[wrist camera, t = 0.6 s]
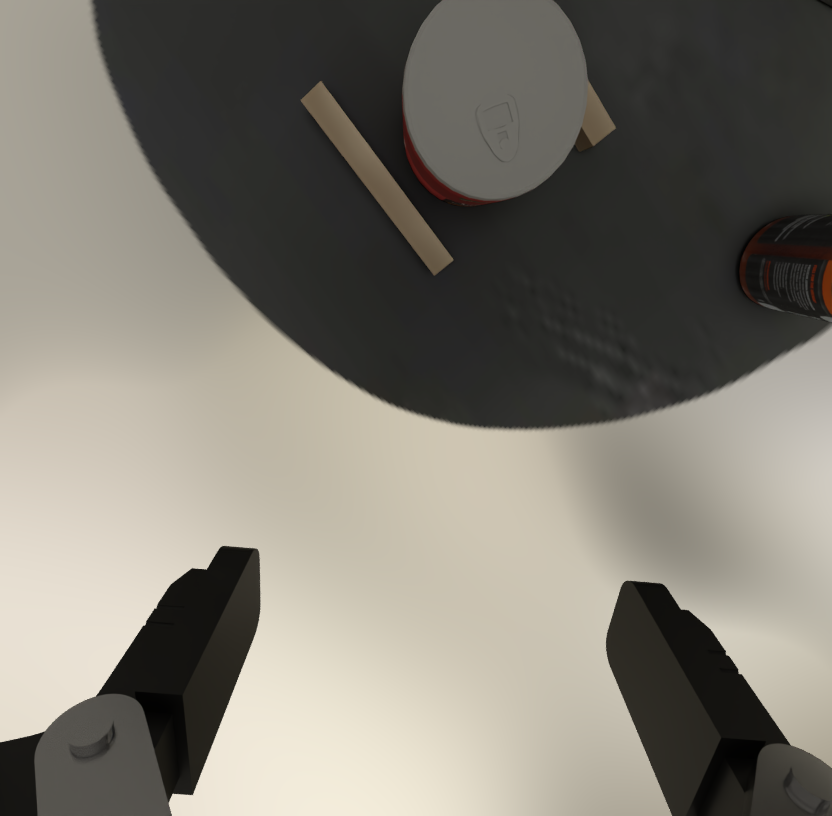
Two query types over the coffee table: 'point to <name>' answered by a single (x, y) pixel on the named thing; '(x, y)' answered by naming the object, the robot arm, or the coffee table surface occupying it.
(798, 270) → the supplement bottle
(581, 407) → the coffee table surface
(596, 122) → the wooden bars
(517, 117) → the canned food
